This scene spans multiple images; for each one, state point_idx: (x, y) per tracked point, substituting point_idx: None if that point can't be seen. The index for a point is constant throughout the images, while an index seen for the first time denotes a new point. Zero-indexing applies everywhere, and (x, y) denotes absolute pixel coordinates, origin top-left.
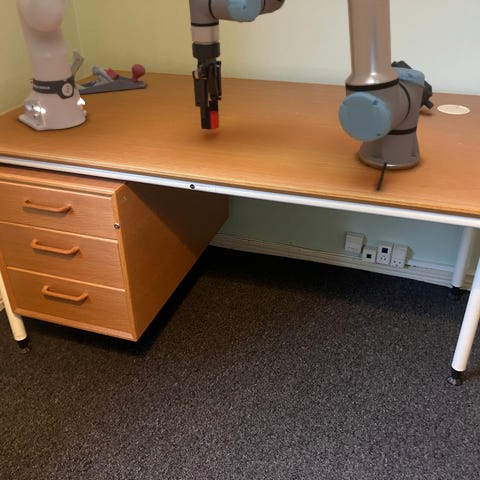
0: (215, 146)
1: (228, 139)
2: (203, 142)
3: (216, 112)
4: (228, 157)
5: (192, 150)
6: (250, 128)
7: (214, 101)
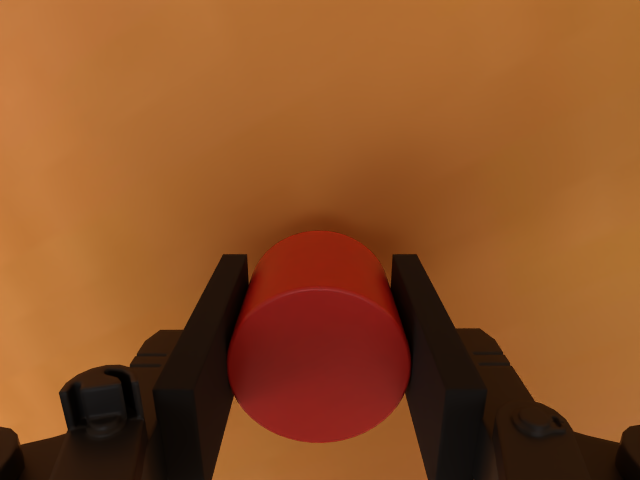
0: None
1: None
2: (187, 260)
3: (354, 421)
4: None
5: (24, 256)
6: None
7: (442, 468)
